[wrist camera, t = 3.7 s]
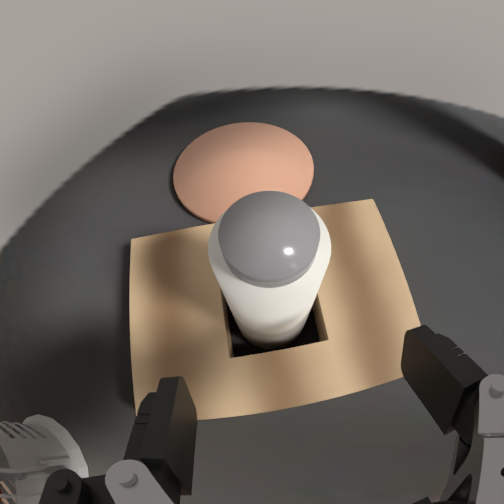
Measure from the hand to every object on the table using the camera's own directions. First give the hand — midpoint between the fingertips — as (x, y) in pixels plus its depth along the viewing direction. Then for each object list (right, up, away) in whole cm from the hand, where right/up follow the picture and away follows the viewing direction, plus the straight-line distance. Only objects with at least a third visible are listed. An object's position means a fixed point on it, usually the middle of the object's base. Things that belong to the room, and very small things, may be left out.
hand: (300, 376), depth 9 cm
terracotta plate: (-3, +12, +20) cm, 24 cm away
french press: (-19, -15, +7) cm, 25 cm away
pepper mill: (0, -1, +13) cm, 13 cm away
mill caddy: (0, -1, +13) cm, 13 cm away
